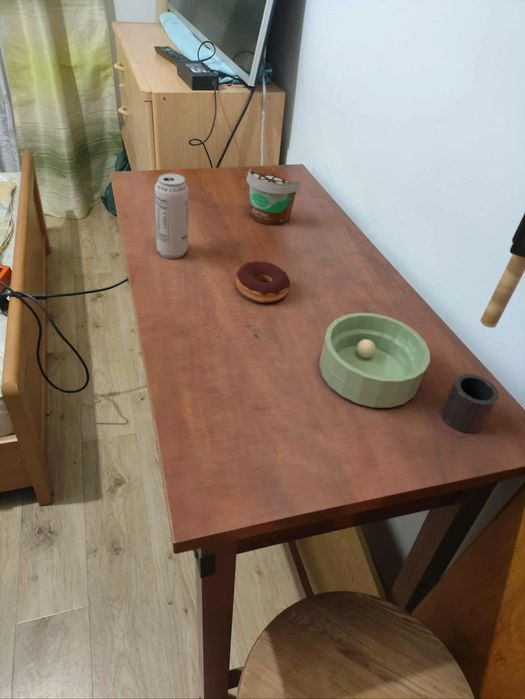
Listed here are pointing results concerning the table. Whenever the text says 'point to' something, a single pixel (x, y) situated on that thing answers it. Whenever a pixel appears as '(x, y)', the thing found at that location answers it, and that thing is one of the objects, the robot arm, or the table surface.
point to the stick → (503, 291)
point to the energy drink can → (171, 215)
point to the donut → (260, 291)
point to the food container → (271, 198)
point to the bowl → (374, 360)
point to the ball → (366, 348)
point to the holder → (469, 403)
